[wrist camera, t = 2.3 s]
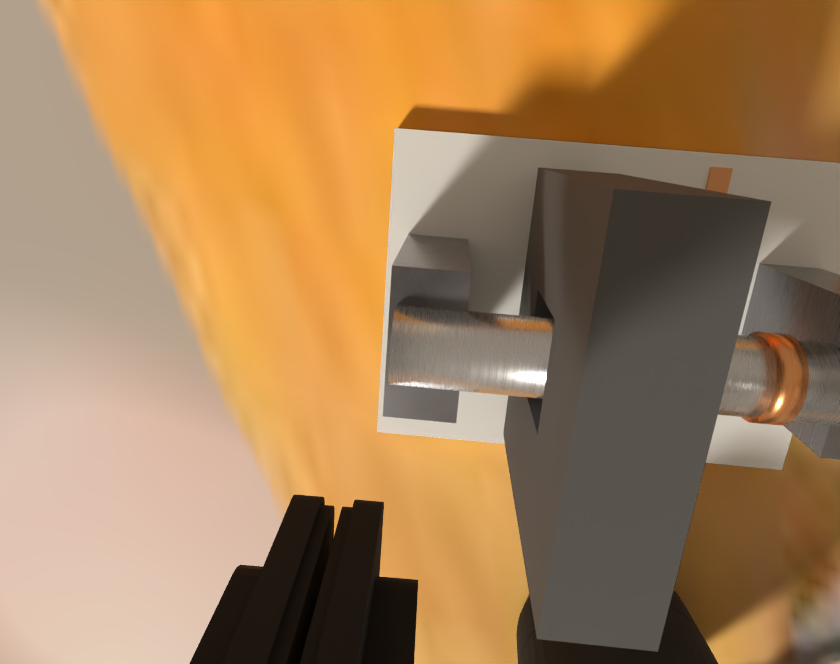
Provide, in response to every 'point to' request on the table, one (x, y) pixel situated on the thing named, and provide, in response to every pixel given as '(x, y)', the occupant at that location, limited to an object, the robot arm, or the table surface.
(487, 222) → the base board
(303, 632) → the robot arm
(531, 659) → the pen holder
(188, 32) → the table surface
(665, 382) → the collar
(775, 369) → the pipe
